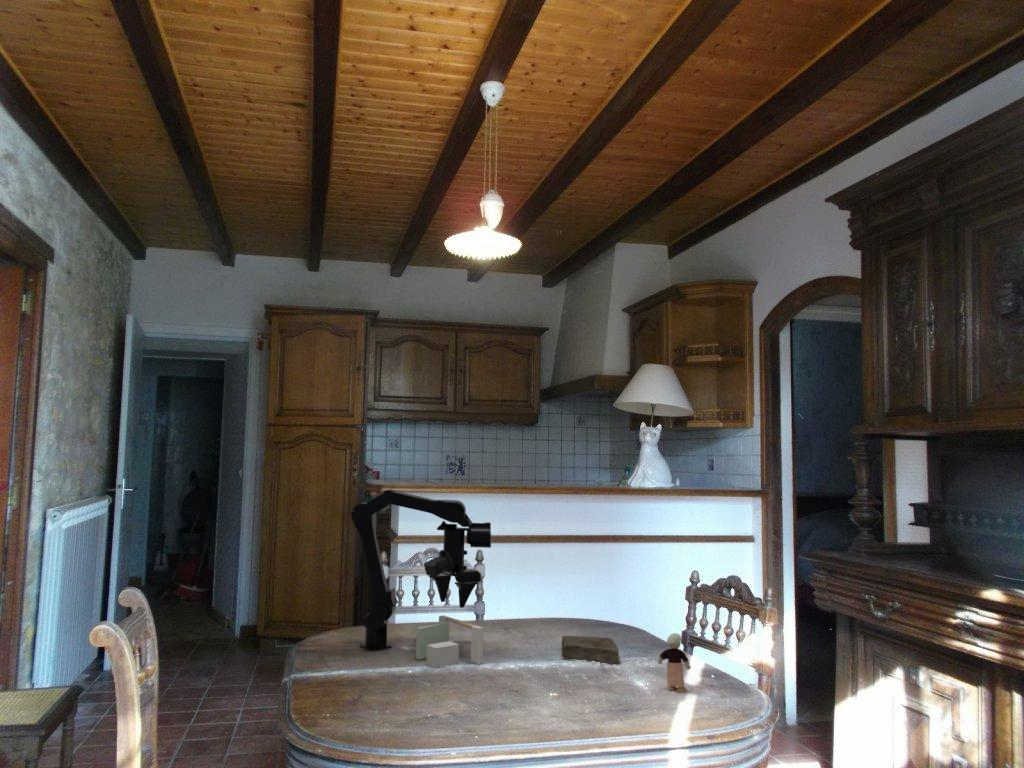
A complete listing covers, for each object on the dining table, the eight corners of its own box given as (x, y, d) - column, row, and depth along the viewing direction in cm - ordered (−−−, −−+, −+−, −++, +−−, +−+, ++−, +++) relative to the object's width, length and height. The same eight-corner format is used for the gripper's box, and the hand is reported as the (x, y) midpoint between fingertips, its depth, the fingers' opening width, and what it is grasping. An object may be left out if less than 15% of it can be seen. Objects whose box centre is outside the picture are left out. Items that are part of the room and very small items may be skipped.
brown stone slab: (619, 666, 204) (619, 649, 204) (561, 664, 205) (561, 648, 205) (614, 649, 221) (614, 634, 221) (561, 648, 221) (561, 633, 222)
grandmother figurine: (692, 688, 184) (692, 632, 185) (690, 693, 181) (690, 636, 182) (658, 685, 187) (658, 629, 188) (656, 689, 183) (656, 633, 184)
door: (441, 650, 214) (442, 621, 215) (448, 652, 212) (448, 622, 213) (412, 657, 207) (413, 627, 207) (419, 659, 205) (419, 628, 206)
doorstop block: (426, 665, 201) (427, 644, 202) (449, 660, 206) (449, 641, 206) (435, 668, 198) (435, 648, 198) (458, 664, 202) (458, 644, 203)
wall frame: (438, 649, 216) (438, 616, 217) (442, 649, 217) (443, 615, 217) (477, 664, 202) (478, 628, 203) (482, 663, 203) (483, 627, 204)
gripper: (410, 544, 222) (409, 601, 220) (448, 552, 207) (446, 613, 206) (444, 542, 228) (442, 597, 227) (483, 550, 214) (481, 609, 213)
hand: (452, 604), depth 218 cm, fingers open, 9 cm apart
